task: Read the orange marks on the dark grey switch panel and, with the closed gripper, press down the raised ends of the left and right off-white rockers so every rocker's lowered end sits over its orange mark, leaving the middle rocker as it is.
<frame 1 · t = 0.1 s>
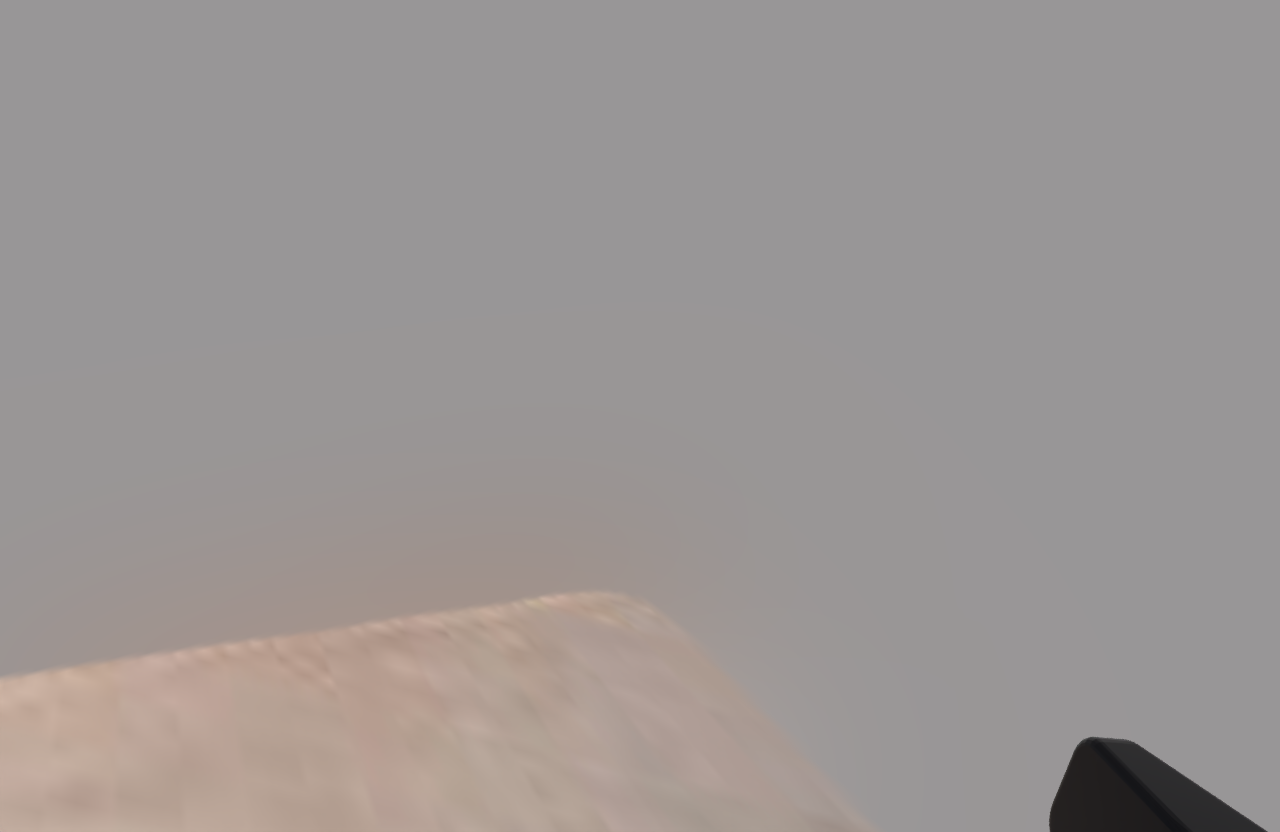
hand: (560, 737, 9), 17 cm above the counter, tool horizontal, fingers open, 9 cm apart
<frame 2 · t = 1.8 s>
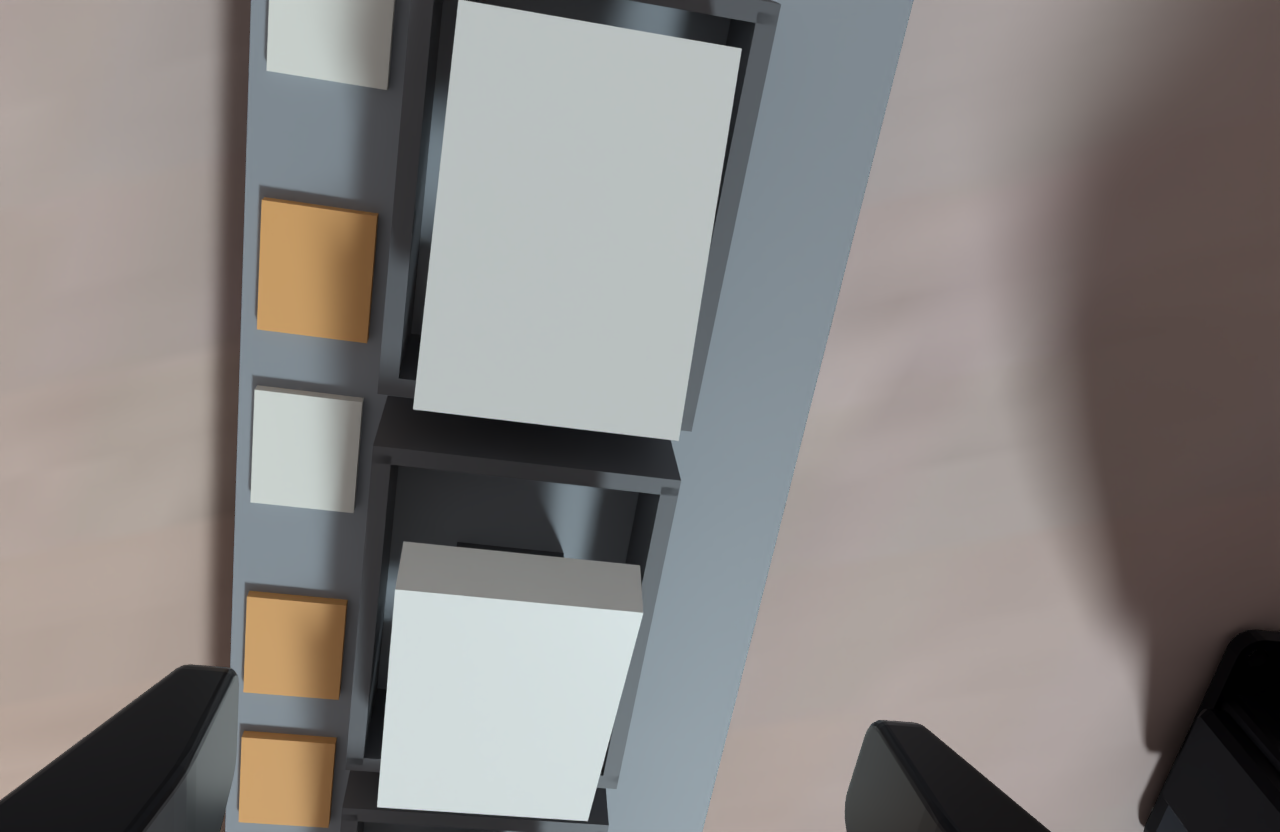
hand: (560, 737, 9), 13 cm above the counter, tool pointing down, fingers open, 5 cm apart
switch panel: (509, 517, 23), on the counter
middle rocker: (502, 691, 18), point 5 cm above the counter, hinge at -12.0°
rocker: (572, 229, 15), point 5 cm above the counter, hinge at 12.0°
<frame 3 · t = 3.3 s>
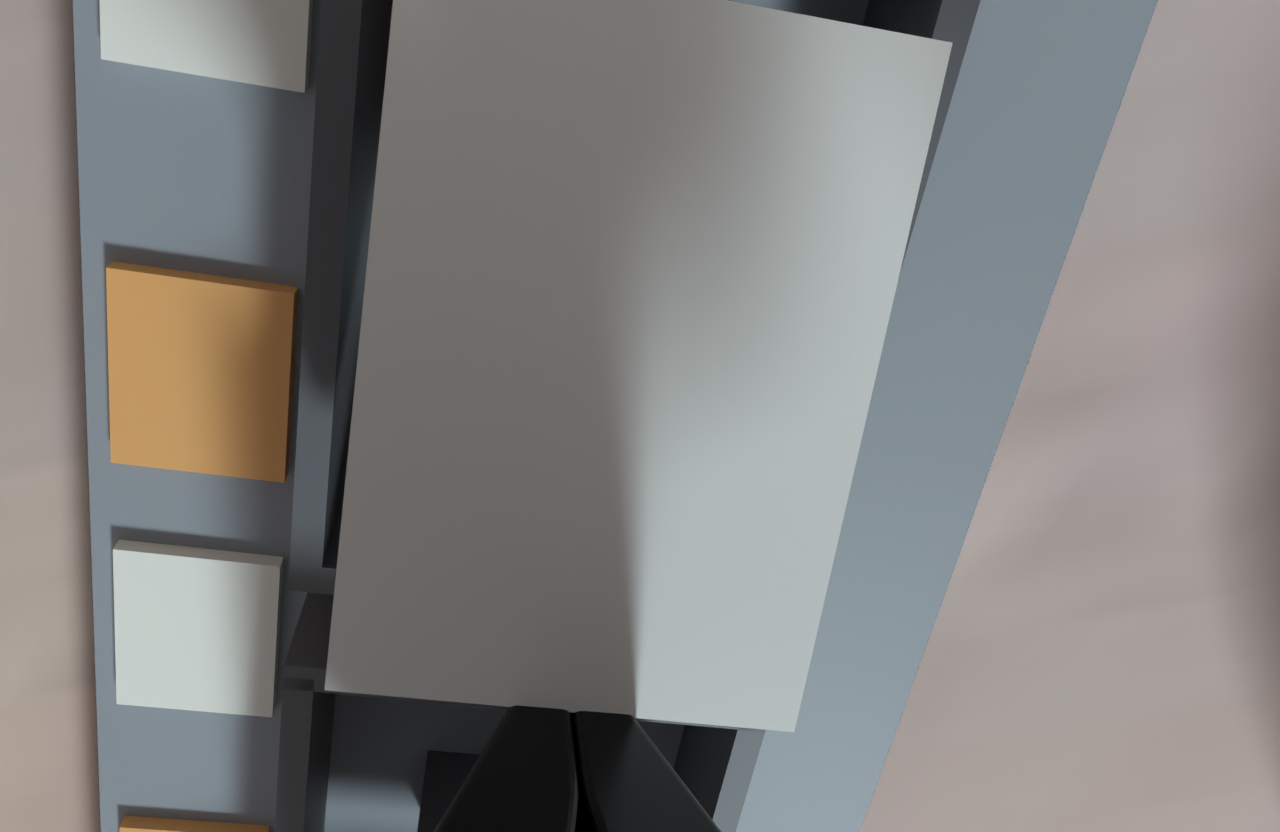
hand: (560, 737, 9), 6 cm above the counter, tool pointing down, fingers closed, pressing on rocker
switch panel: (505, 685, 16), on the counter
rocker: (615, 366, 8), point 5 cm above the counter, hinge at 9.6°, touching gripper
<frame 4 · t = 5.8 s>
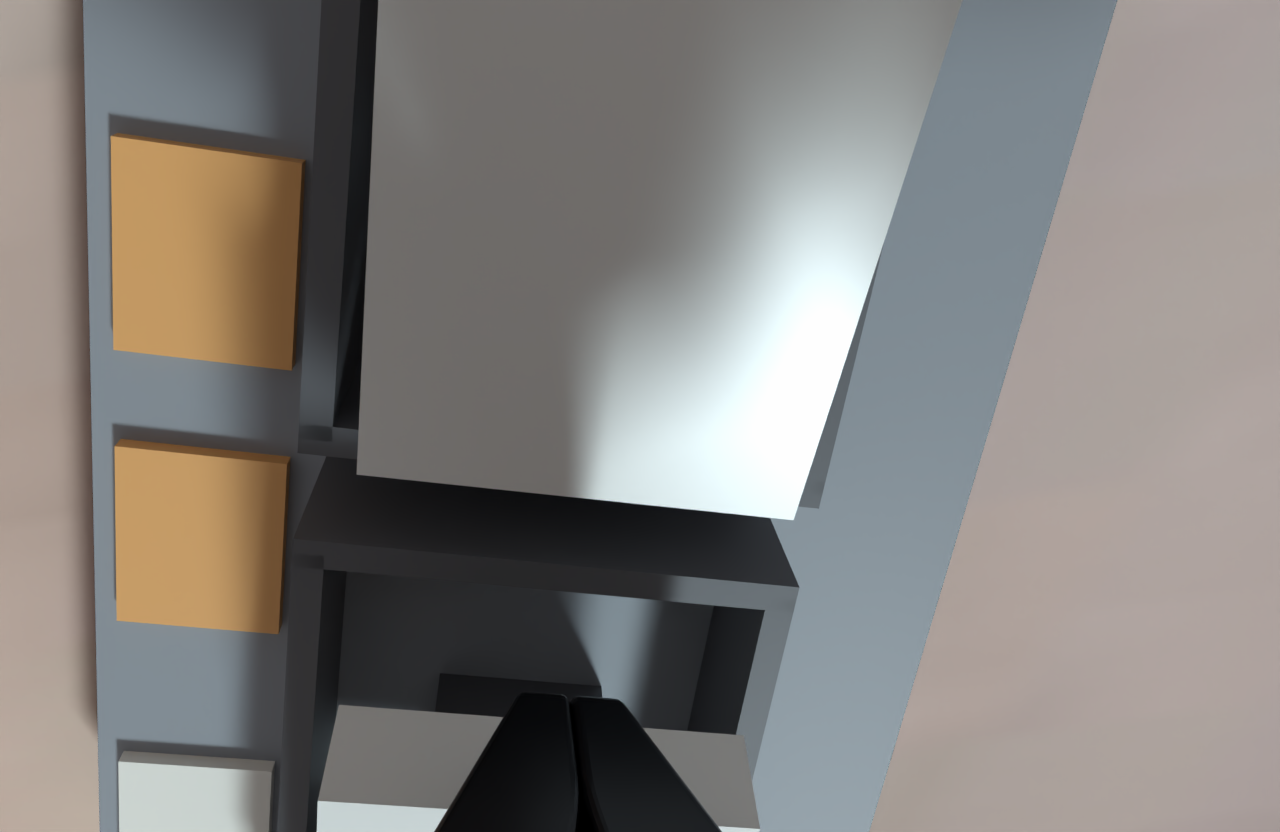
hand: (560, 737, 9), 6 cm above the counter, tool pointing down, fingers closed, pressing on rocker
switch panel: (594, 81, 13), on the counter
middle rocker: (632, 176, 8), point 5 cm above the counter, hinge at -12.0°
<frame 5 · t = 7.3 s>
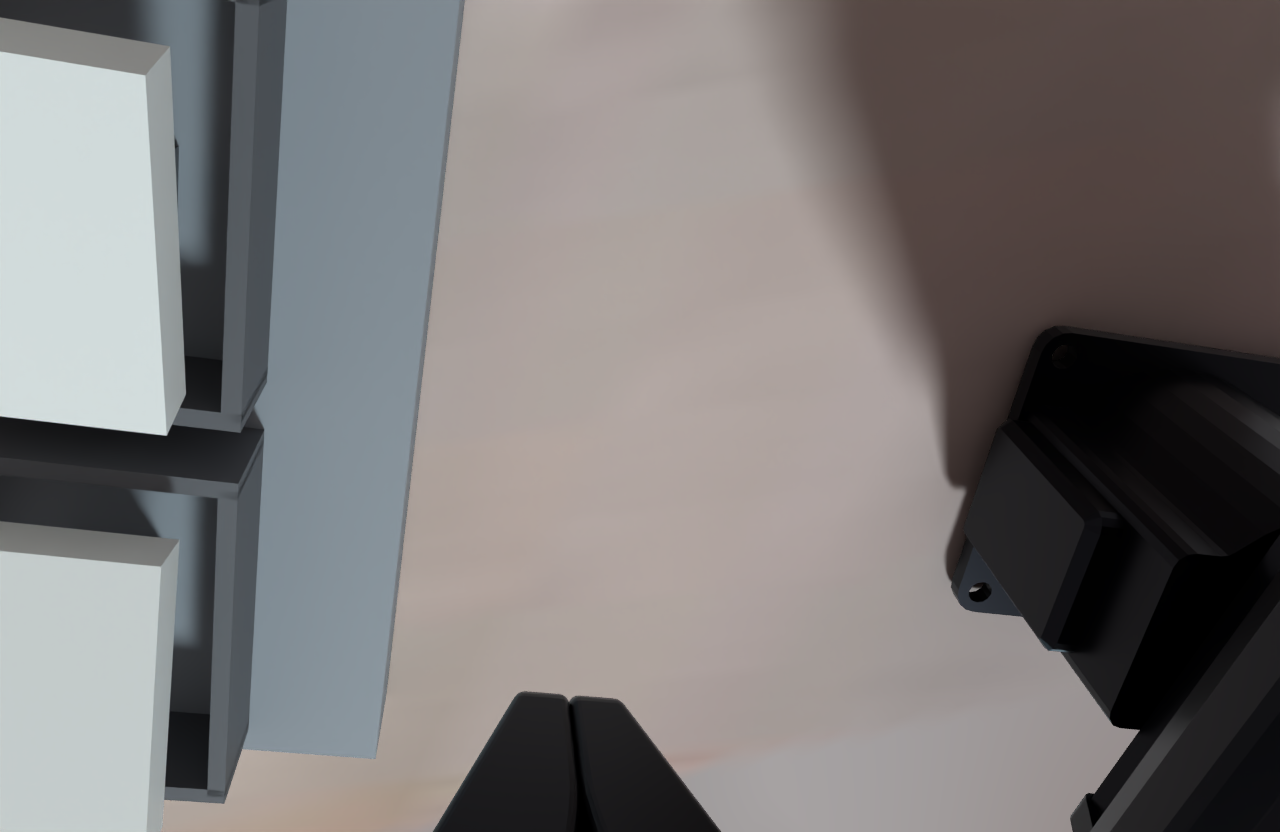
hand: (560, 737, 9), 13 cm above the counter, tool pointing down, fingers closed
switch panel: (149, 142, 19), on the counter
middle rocker: (20, 234, 14), point 5 cm above the counter, hinge at -12.0°
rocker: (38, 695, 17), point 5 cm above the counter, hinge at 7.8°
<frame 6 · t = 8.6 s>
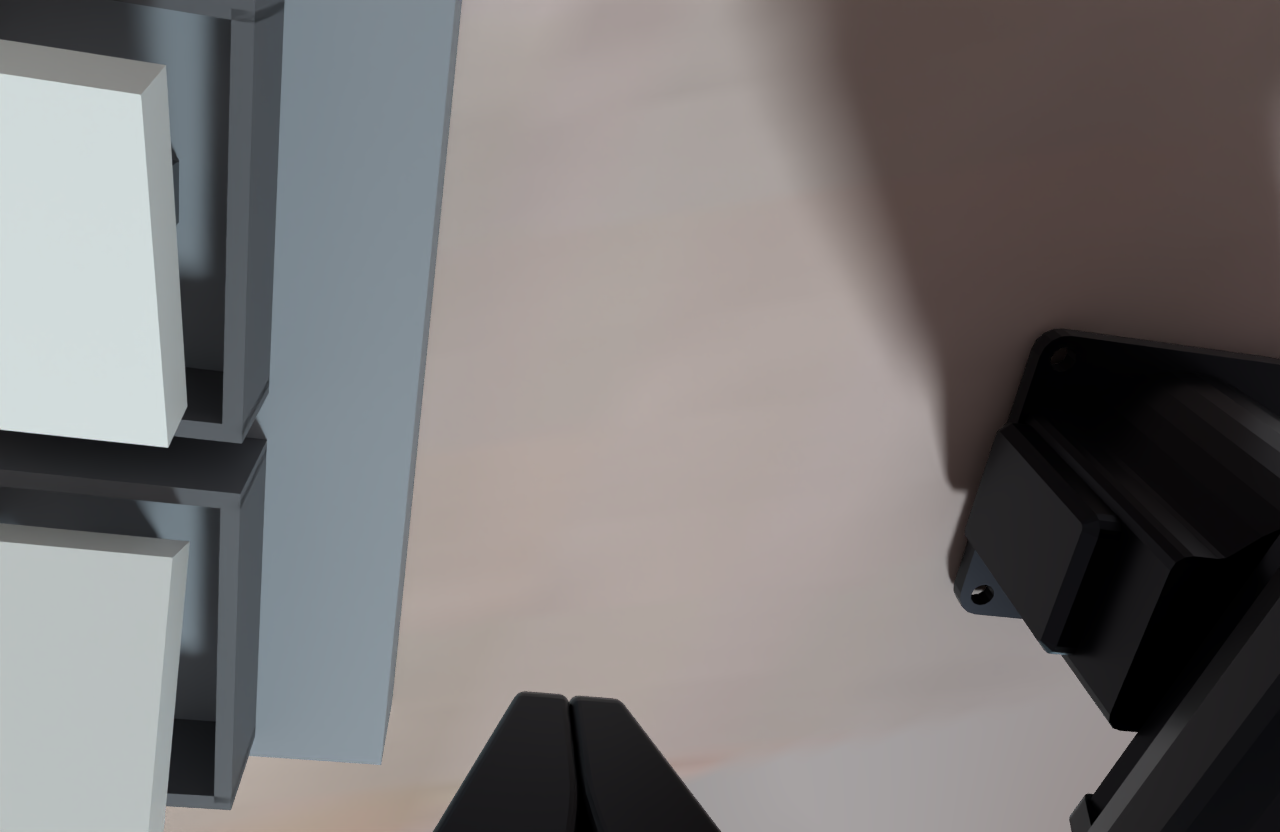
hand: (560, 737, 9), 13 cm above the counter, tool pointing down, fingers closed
switch panel: (151, 156, 19), on the counter
middle rocker: (22, 251, 15), point 5 cm above the counter, hinge at -12.0°
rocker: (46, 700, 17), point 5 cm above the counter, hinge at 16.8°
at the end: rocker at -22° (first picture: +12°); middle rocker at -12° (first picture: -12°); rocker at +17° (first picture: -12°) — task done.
